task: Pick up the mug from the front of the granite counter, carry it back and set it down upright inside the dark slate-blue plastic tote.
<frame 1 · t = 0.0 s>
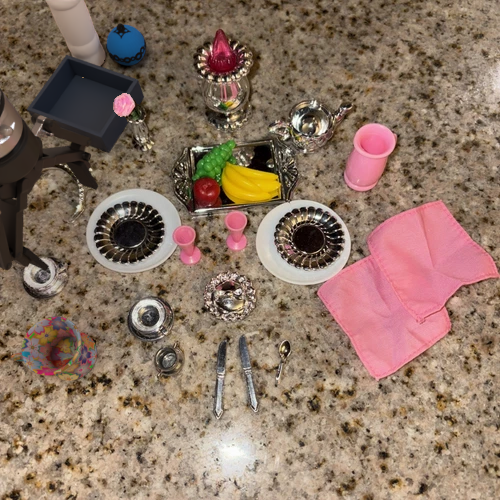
hand: (65, 223, 70), 24 cm above the granite countertop, tool pointing down, fingers open, 13 cm apart
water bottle: (91, 60, 112), on the granite countertop
mug: (67, 358, 87), on the granite countertop
ornament: (131, 60, 112), on the granite countertop
tote: (91, 111, 107), on the granite countertop
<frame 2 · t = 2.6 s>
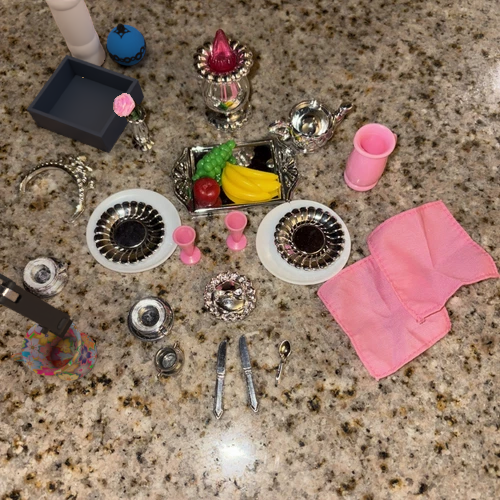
hand: (24, 308, 68), 22 cm above the granite countertop, tool pointing down, fingers open, 13 cm apart
nothing on the granite countertop moved.
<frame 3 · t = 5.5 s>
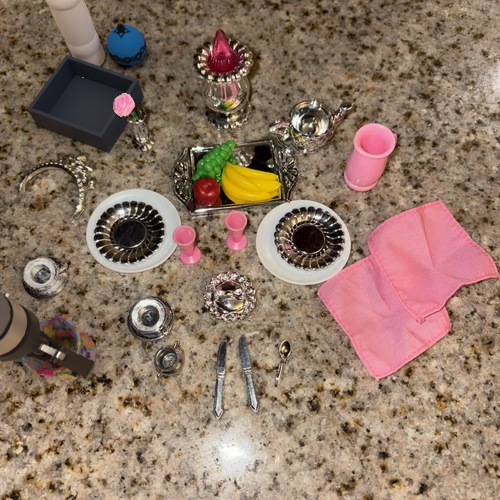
hand: (65, 357, 85), 2 cm above the granite countertop, tool pointing down, fingers closed on mug, 9 cm apart
mug: (66, 358, 87), on the granite countertop, touching gripper
everything else where it was.
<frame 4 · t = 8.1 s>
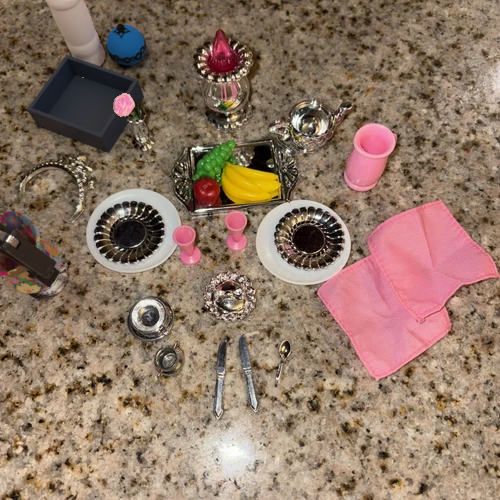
hand: (26, 266, 73), 19 cm above the granite countertop, tool pointing down, fingers closed on mug, 9 cm apart
mug: (27, 270, 75), point 17 cm above the granite countertop, touching gripper
everything else where it was.
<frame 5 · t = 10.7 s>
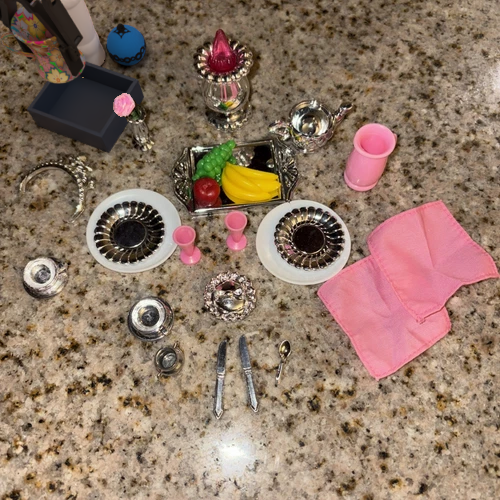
hand: (55, 62, 87), 19 cm above the granite countertop, tool pointing down, fingers closed on mug, 9 cm apart
mug: (56, 70, 89), point 18 cm above the granite countertop, touching gripper
everything else where it was.
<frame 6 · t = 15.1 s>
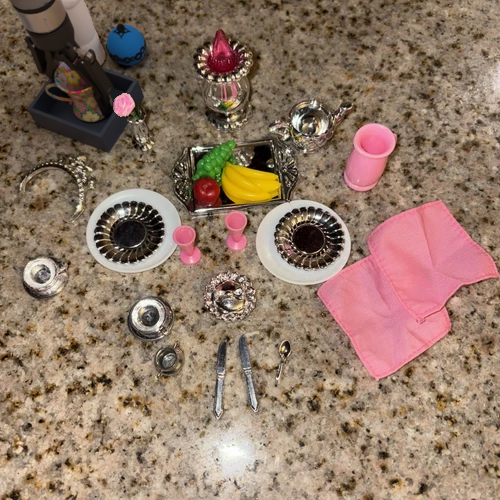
hand: (88, 104, 105), 2 cm above the granite countertop, tool pointing down, fingers closed on mug, 9 cm apart
mug: (88, 110, 106), resting on tote, touching gripper
everything else where it was.
when the fingers open (2 cm above the granite countertop, at t = 15.2 s): mug stays where it is, resting on tote.
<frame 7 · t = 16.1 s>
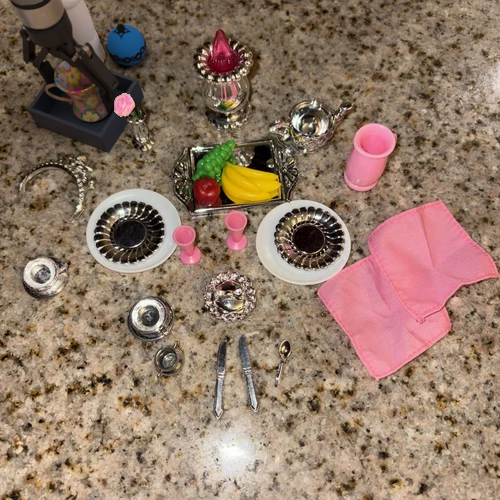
hand: (84, 98, 103), 4 cm above the granite countertop, tool pointing down, fingers open, 13 cm apart
mug: (88, 110, 106), resting on tote
everything else where it was.
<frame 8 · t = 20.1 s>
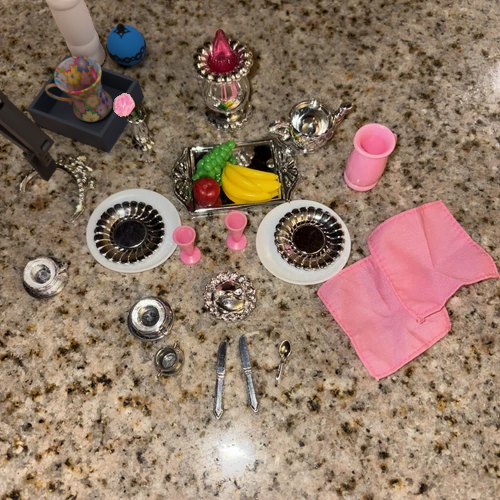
hand: (9, 156, 69), 29 cm above the granite countertop, tool pointing down, fingers open, 13 cm apart
nothing on the granite countertop moved.
at the end: mug inside the target area in the tote (0.5 cm from its centre), point 0.4 cm above the tote's base; mug tilted 0°; the gripper is holding nothing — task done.
